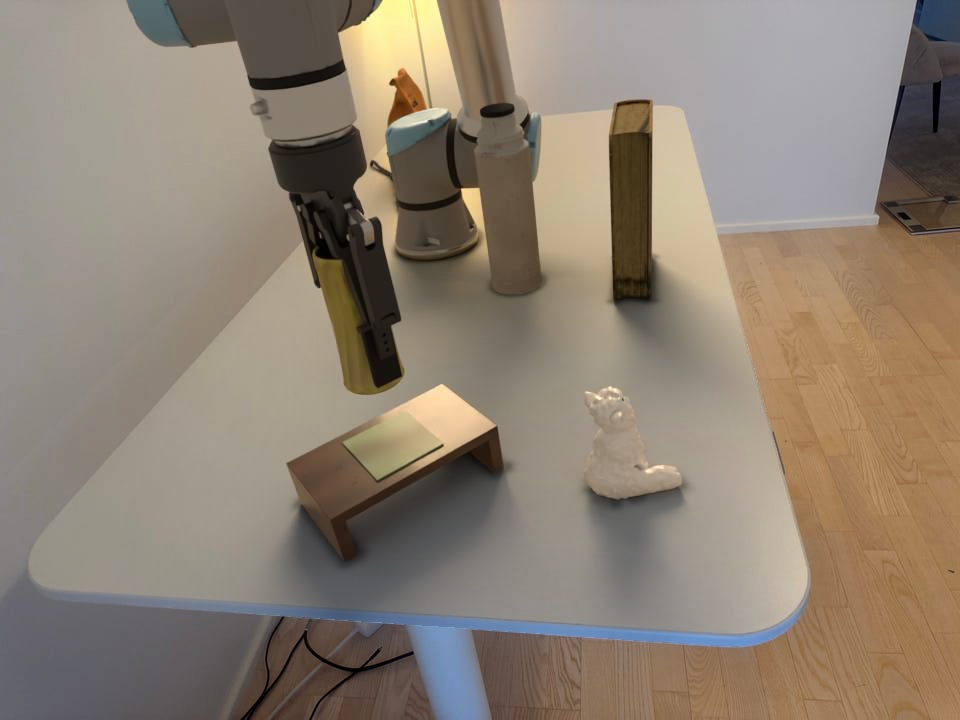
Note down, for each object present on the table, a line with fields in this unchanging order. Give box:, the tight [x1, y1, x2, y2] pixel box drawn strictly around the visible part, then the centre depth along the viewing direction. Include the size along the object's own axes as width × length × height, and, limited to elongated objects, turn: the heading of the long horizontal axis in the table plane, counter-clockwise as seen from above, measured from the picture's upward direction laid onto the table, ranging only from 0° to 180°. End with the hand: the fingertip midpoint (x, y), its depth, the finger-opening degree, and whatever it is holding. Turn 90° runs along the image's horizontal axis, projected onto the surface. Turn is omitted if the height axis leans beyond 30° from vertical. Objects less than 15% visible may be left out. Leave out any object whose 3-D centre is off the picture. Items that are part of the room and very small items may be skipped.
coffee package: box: [386, 67, 428, 129], centre depth 163 cm, size 10×12×22 cm
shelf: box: [286, 383, 505, 563], centre depth 78 cm, size 11×20×6 cm, turn 126°
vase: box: [313, 242, 405, 396], centre depth 68 cm, size 6×6×14 cm
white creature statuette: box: [583, 385, 683, 501], centre depth 72 cm, size 10×9×12 cm
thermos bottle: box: [474, 103, 542, 296], centre depth 108 cm, size 8×8×28 cm
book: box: [608, 98, 654, 301], centre depth 106 cm, size 16×6×25 cm, turn 168°
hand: (372, 366), depth 71 cm, fingers closed on vase, 6 cm apart
